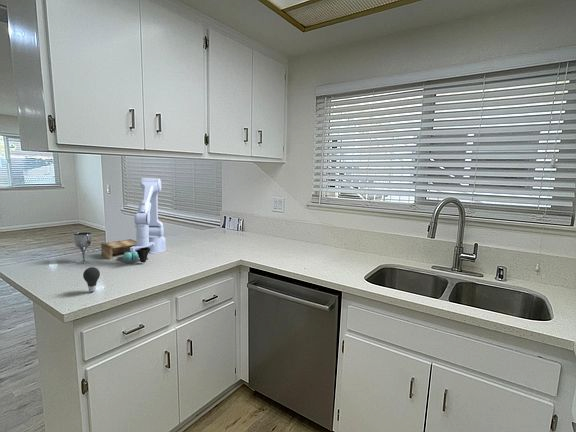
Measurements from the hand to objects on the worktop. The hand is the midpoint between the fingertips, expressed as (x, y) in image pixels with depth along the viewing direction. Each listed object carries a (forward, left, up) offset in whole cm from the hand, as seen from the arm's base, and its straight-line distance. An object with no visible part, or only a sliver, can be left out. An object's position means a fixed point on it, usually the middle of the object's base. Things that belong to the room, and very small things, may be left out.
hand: (143, 262), depth 162 cm
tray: (0, -11, -2) cm, 11 cm away
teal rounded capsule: (+2, -11, -1) cm, 11 cm away
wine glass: (+19, -23, -1) cm, 30 cm away
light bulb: (+32, +20, -1) cm, 38 cm away
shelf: (0, -24, -1) cm, 23 cm away
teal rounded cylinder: (-1, -11, -1) cm, 11 cm away
